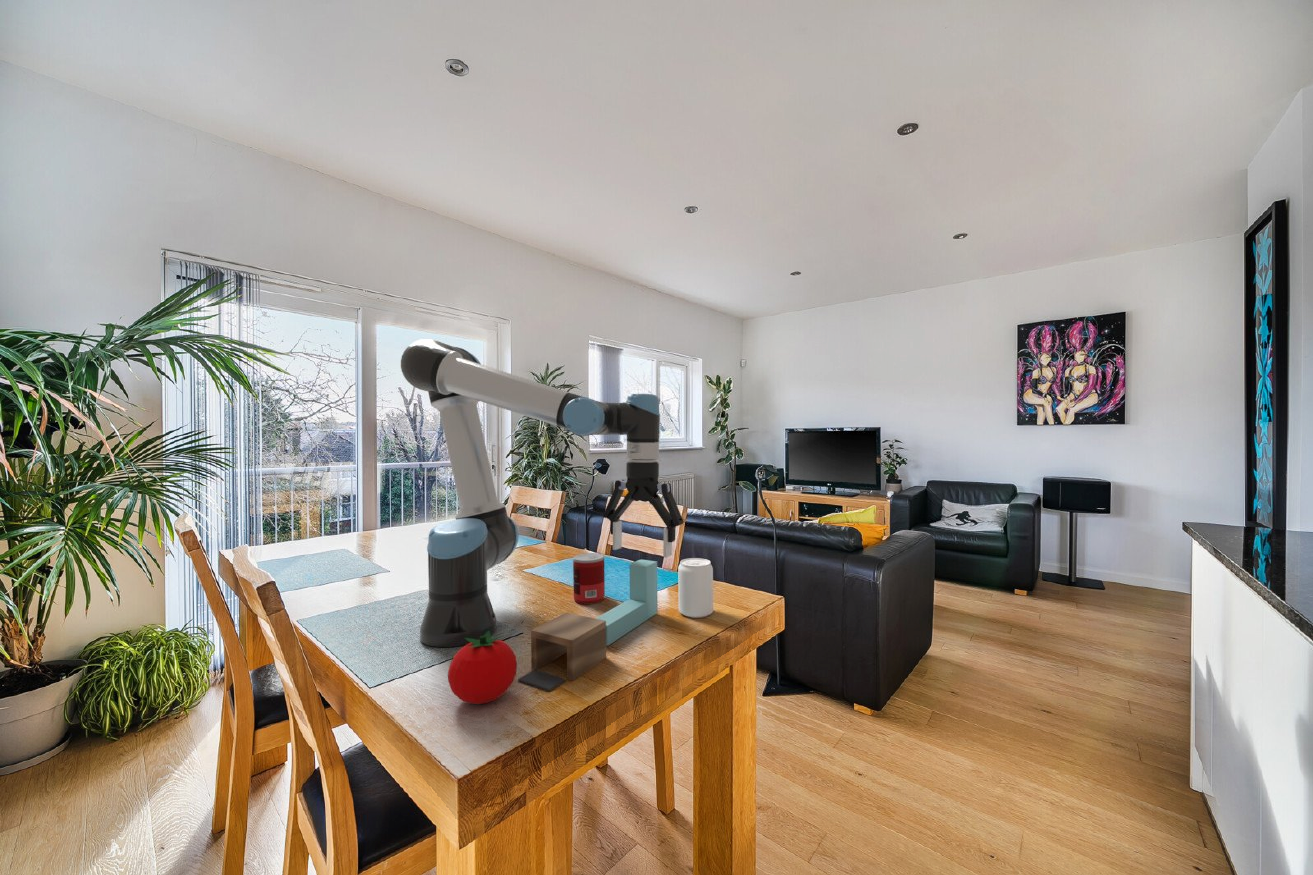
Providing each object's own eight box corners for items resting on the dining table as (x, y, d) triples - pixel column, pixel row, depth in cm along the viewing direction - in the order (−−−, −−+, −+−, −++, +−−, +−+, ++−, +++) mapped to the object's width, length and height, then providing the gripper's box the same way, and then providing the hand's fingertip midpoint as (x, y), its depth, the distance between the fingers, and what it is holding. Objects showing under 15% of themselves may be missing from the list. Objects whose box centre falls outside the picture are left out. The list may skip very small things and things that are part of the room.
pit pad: (518, 681, 84) (518, 679, 84) (534, 671, 88) (534, 669, 88) (549, 691, 81) (549, 689, 81) (565, 680, 85) (565, 678, 85)
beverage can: (711, 620, 111) (711, 567, 111) (676, 618, 113) (675, 565, 113) (714, 607, 119) (714, 558, 119) (681, 605, 121) (680, 556, 121)
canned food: (610, 597, 127) (610, 555, 127) (590, 606, 121) (590, 562, 120) (587, 592, 131) (587, 551, 131) (567, 601, 125) (566, 558, 125)
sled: (589, 641, 100) (588, 582, 100) (641, 609, 118) (640, 559, 118) (607, 645, 98) (606, 585, 98) (657, 612, 116) (657, 561, 116)
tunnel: (531, 668, 89) (531, 630, 89) (567, 647, 98) (566, 612, 98) (572, 681, 84) (572, 640, 84) (606, 657, 93) (605, 620, 93)
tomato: (437, 718, 74) (436, 652, 73) (461, 683, 84) (460, 625, 84) (508, 716, 74) (507, 649, 74) (523, 681, 85) (522, 623, 84)
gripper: (589, 459, 117) (588, 548, 117) (684, 463, 105) (682, 563, 105) (607, 458, 124) (606, 542, 124) (698, 462, 112) (697, 555, 112)
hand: (641, 552), depth 115 cm, fingers open, 13 cm apart
